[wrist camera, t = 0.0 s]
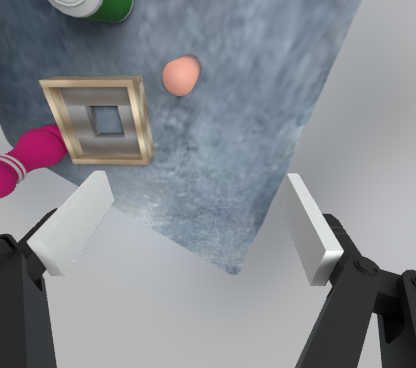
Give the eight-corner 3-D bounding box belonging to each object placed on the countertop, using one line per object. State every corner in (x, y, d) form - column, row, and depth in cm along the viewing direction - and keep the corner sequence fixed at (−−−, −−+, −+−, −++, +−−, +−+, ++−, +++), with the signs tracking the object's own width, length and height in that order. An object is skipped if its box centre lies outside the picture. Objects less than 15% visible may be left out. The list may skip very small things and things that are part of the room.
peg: (177, 54, 35) (160, 60, 25) (201, 54, 35) (193, 59, 25) (179, 81, 37) (164, 95, 27) (202, 81, 37) (195, 95, 27)
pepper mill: (43, 114, 42) (-72, 163, 25) (80, 135, 44) (-5, 193, 27) (36, 141, 45) (-70, 200, 29) (69, 160, 47) (-11, 224, 31)
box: (58, 76, 38) (38, 80, 34) (141, 75, 37) (132, 79, 33) (86, 152, 46) (73, 163, 42) (154, 153, 45) (148, 164, 41)
